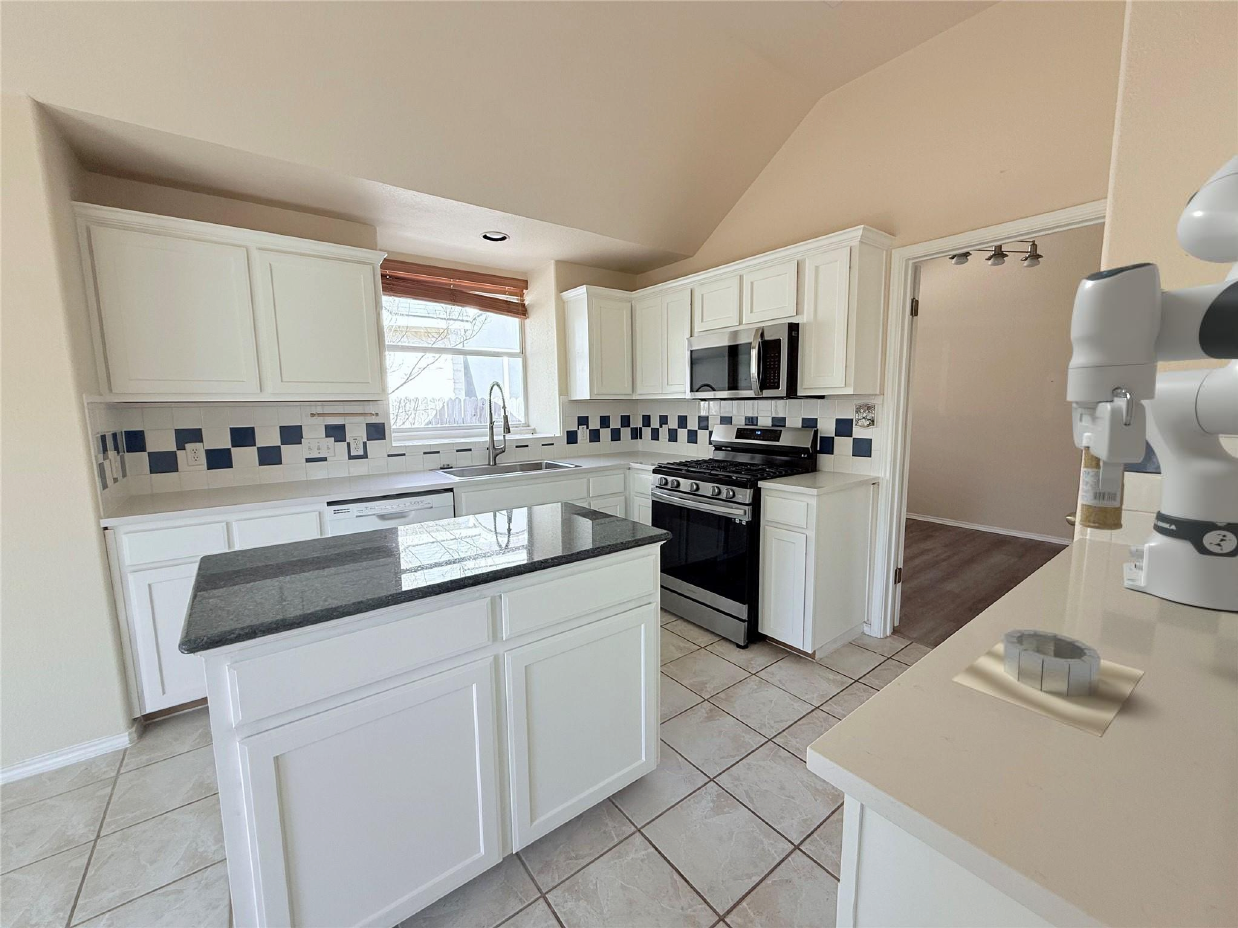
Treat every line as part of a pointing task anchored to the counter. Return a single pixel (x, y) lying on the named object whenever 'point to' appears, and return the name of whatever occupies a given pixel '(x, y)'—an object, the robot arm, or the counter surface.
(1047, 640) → the steel ring
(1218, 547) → the robot arm
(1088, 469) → the sprinkles bottle
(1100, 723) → the birch board
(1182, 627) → the counter surface
